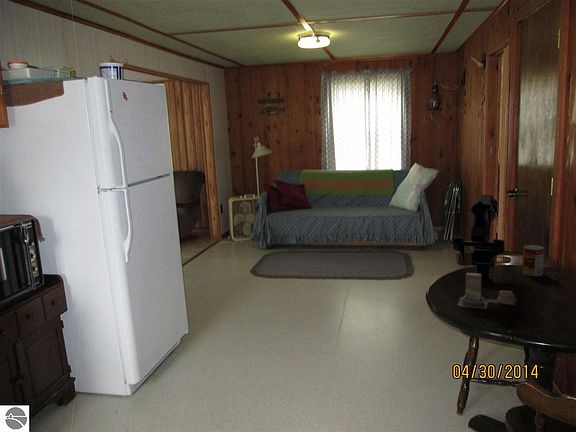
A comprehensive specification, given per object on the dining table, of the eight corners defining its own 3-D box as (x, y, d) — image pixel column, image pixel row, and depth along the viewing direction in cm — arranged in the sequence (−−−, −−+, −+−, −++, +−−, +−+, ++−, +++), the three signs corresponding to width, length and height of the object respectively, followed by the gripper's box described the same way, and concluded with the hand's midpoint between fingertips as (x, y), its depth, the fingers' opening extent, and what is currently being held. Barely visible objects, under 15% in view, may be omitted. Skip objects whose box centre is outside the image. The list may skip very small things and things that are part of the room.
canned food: (529, 269, 211) (530, 244, 208) (546, 273, 204) (547, 247, 202) (518, 273, 207) (519, 247, 204) (536, 277, 200) (537, 250, 198)
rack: (462, 294, 185) (462, 288, 184) (516, 300, 176) (516, 294, 175) (456, 307, 172) (457, 301, 172) (514, 314, 163) (514, 307, 163)
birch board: (466, 300, 176) (467, 272, 174) (480, 302, 174) (481, 273, 172) (465, 303, 174) (465, 275, 172) (479, 304, 172) (480, 276, 170)
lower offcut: (499, 297, 178) (499, 293, 178) (514, 298, 175) (514, 295, 175) (498, 302, 173) (498, 298, 172) (513, 304, 170) (513, 300, 170)
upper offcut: (499, 294, 177) (499, 290, 177) (512, 294, 176) (512, 291, 175) (500, 299, 172) (501, 295, 172) (514, 299, 171) (514, 295, 170)
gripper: (453, 217, 185) (448, 251, 178) (505, 219, 176) (502, 254, 169) (456, 232, 193) (451, 265, 186) (505, 234, 185) (503, 269, 177)
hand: (476, 263), depth 179 cm, fingers open, 9 cm apart
